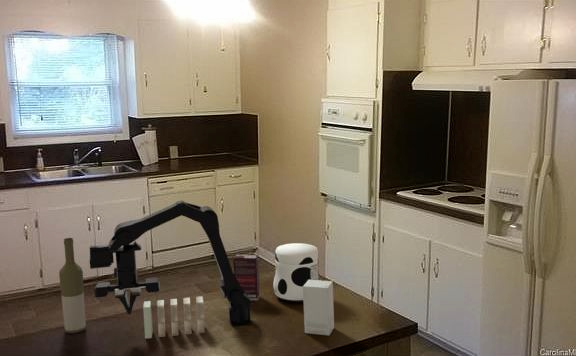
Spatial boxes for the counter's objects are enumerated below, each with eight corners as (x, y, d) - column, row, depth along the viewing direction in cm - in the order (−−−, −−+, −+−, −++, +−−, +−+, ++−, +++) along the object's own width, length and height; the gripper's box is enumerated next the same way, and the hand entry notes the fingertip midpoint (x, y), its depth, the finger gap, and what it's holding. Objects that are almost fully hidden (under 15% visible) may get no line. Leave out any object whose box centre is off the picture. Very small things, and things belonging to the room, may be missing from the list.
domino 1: (152, 331, 176) (150, 301, 175) (151, 337, 171) (150, 307, 170) (145, 331, 176) (144, 301, 174) (145, 338, 171) (143, 307, 169)
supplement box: (259, 296, 205) (258, 254, 202) (257, 300, 200) (256, 258, 197) (236, 295, 206) (235, 253, 203) (234, 300, 201) (232, 257, 198)
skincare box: (334, 328, 176) (334, 280, 174) (329, 337, 170) (329, 288, 168) (309, 324, 179) (308, 278, 177) (302, 333, 173) (302, 285, 170)
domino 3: (178, 328, 178) (176, 298, 176) (178, 335, 173) (177, 304, 171) (171, 329, 177) (170, 299, 176) (171, 335, 173) (170, 305, 171)
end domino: (203, 325, 179) (202, 296, 178) (204, 332, 175) (203, 302, 173) (197, 326, 179) (195, 296, 178) (198, 333, 174) (196, 302, 173)
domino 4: (190, 327, 179) (189, 297, 177) (191, 333, 174) (190, 303, 172) (184, 327, 178) (183, 298, 177) (185, 334, 173) (183, 303, 172)
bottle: (76, 336, 173) (69, 242, 168) (58, 333, 176) (50, 240, 171) (91, 327, 180) (85, 236, 175) (74, 324, 182) (67, 235, 177)
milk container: (271, 289, 211) (270, 243, 208) (316, 287, 213) (316, 241, 210) (275, 307, 194) (274, 257, 191) (324, 304, 196) (324, 254, 193)
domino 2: (165, 329, 177) (163, 299, 175) (165, 336, 172) (163, 305, 171) (158, 330, 177) (157, 300, 175) (158, 337, 172) (157, 306, 170)
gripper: (158, 254, 179) (161, 301, 181) (97, 259, 175) (100, 307, 177) (157, 265, 168) (160, 314, 170) (92, 270, 164) (96, 321, 166)
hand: (129, 313), depth 171 cm, fingers closed
